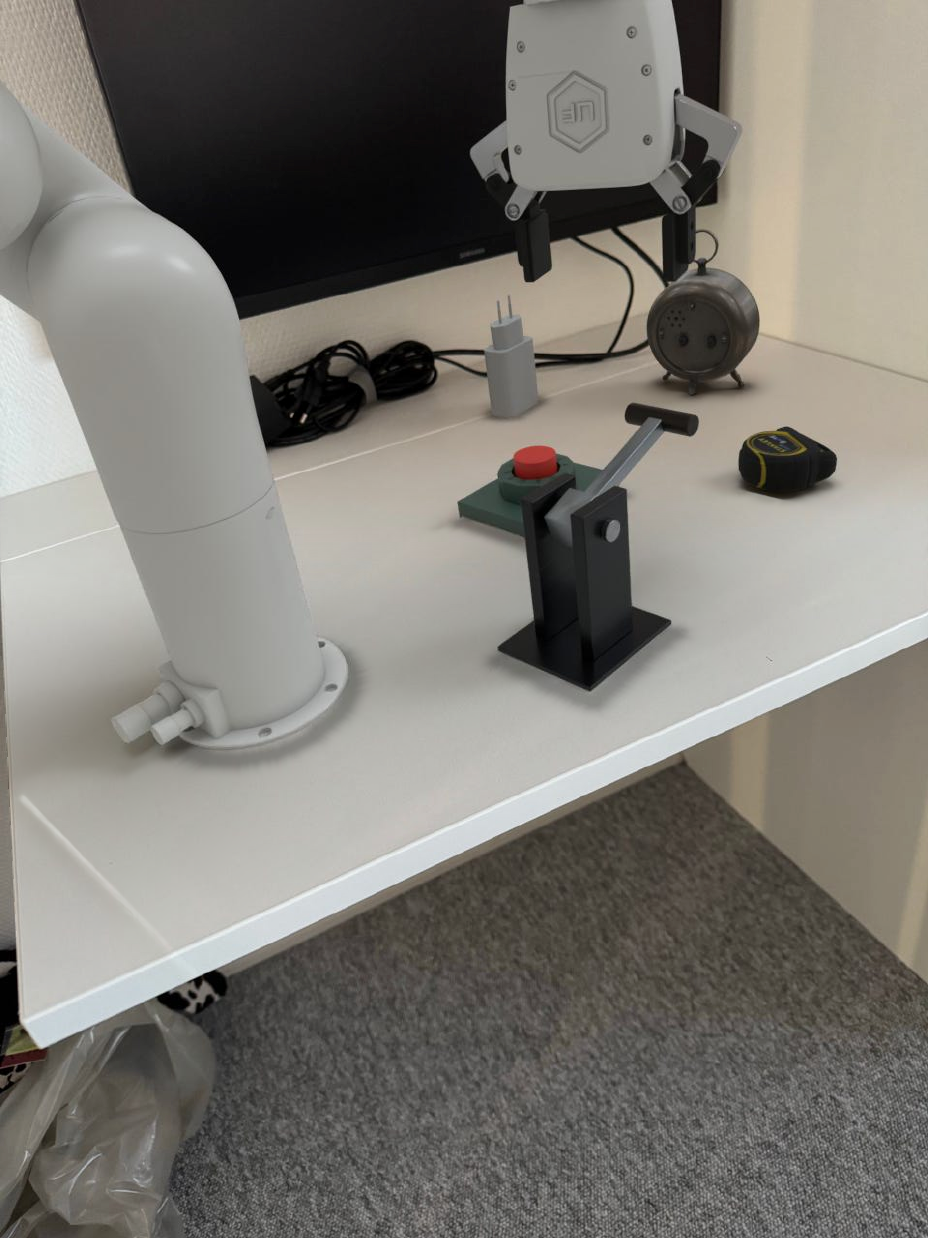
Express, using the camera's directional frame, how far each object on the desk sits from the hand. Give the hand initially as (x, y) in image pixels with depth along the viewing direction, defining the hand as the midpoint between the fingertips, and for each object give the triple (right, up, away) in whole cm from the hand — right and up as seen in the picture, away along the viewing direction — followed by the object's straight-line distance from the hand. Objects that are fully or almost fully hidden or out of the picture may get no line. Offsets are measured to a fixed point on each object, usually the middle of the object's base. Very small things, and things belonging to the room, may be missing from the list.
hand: (605, 276), depth 62 cm
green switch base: (-3, -13, +21) cm, 25 cm away
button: (-3, -10, +19) cm, 21 cm away
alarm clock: (+16, +2, +39) cm, 42 cm away
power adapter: (-4, 0, +41) cm, 41 cm away
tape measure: (+18, -11, +19) cm, 29 cm away
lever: (+1, -14, 0) cm, 14 cm away
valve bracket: (-1, -25, +3) cm, 25 cm away
